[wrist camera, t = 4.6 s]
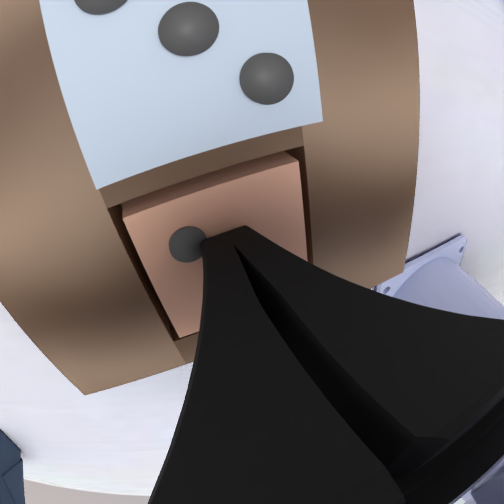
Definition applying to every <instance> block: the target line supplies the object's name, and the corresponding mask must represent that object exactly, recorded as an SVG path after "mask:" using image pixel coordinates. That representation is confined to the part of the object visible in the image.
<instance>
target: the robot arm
mask: <svg viewBox="0 0 504 504" xmlns="http://www.w3.org/2000/svg"><path fill="white" fill-rule="evenodd" d="M466 242H467V238H466V237H465V236H464V235H460V236H458V237H456V238H455V239H453V240H451V241H449V242H447V243H445V244H443V245H441V246H439V247H438V248H436V249H434V250H432V251H430V252H428V253H426V254H424V255H422V256H420V257H418V258H416V259H414V260H412V261H410V262H408V263H406V264H405V266H404V271H403V273H401V274H399V275H397V276H395V277H393V278H391V279H389V280H387V281H385V282H383V283H381V284H379V285H377V290H376V291H373V290H371V289H368V288H365V287H363V286H360V285H358V284H355V283H352V282H350V281H347V280H345V279H343V278H340V277H338V276H336V275H334V274H331V273H329V272H327V271H325V270H323V269H321V268H319V267H317V266H315V265H313V264H311V263H309V262H307V261H306V260H304V259H302V258H300V257H298V256H297V255H295V254H293V253H291V252H289V251H288V250H286V249H284V248H282V247H281V246H279V245H277V244H276V243H274V242H273V241H271V240H269V239H268V238H266V237H264V236H263V235H261V234H260V233H258V232H257V231H255V230H253V229H252V228H250V227H248V226H246V225H244V226H241V227H238V228H235V229H232V230H230V231H227V232H224V233H221V234H218V235H215V236H212V237H210V238H207V239H205V240H202V242H201V243H200V245H199V246H200V249H201V252H202V259H203V299H202V309H201V319H200V328H199V335H198V341H197V347H196V352H195V358H194V363H193V367H192V371H191V376H190V380H189V384H188V389H187V392H186V396H185V400H184V404H183V407H182V410H181V413H180V416H179V420H178V423H177V426H176V429H175V432H174V435H173V439H172V442H171V445H170V448H169V451H168V453H167V456H166V459H165V461H164V464H163V466H162V469H161V471H160V474H159V476H158V479H157V481H156V484H155V486H154V489H153V491H152V494H151V496H150V499H149V502H148V504H453V503H454V502H456V501H457V500H458V499H460V498H461V497H462V498H463V500H465V501H466V502H465V503H464V504H504V306H503V305H502V304H501V303H500V302H499V301H497V300H496V299H495V298H494V297H493V296H492V295H491V294H490V293H489V292H488V291H487V290H486V289H485V288H483V287H482V286H481V285H480V284H479V283H478V282H477V281H476V280H475V279H473V278H472V277H471V276H470V275H469V274H468V273H467V272H466V271H464V270H463V269H462V268H461V267H460V263H461V260H462V256H463V253H464V249H465V246H466Z"/></svg>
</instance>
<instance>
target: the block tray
mask: <svg viewBox="0 0 504 504" xmlns="http://www.w3.org/2000/svg"><path fill="white" fill-rule="evenodd" d="M307 2H308V8H309V14H310V20H311V26H312V33H313V40H314V47H315V55H316V62H317V70H318V79H319V88H320V97H321V107H322V117H323V121H322V122H317V123H313V124H308V125H303V126H299V127H295V128H290V129H286V130H282V131H278V132H274V133H270V134H266V135H262V136H258V137H254V138H250V139H246V140H243V141H239V142H236V143H232V144H228V145H225V146H221V147H218V148H215V149H211V150H208V151H205V152H201V153H198V154H195V155H192V156H189V157H186V158H182V159H179V160H176V161H173V162H170V163H167V164H164V165H161V166H159V167H156V168H153V169H150V170H147V171H144V172H142V173H139V174H136V175H133V176H131V177H128V178H125V179H123V180H120V181H117V182H115V183H112V184H110V185H107V186H105V187H102V188H100V189H97V190H96V187H95V185H94V182H93V180H92V177H91V175H90V172H89V170H88V167H87V164H86V162H85V159H84V157H83V154H82V151H81V148H80V146H79V143H78V140H77V137H76V134H75V132H74V129H73V126H72V123H71V120H70V117H69V114H68V111H67V108H66V104H65V101H64V98H63V95H62V91H61V88H60V85H59V81H58V78H57V74H56V71H55V67H54V63H53V60H52V56H51V52H50V48H49V44H48V40H47V35H46V31H45V26H44V22H43V17H42V12H41V7H40V2H39V0H0V302H1V303H2V304H3V306H4V307H5V308H6V310H7V311H8V312H9V314H10V315H11V316H12V317H13V319H14V320H15V321H16V322H17V324H18V325H19V326H20V327H21V328H22V330H23V331H24V332H25V333H26V334H27V336H28V337H29V338H30V339H31V340H32V341H33V343H34V344H35V345H36V346H37V347H38V348H39V349H40V350H41V352H42V353H43V354H44V355H45V356H46V357H47V358H48V359H49V360H50V361H51V362H52V363H53V364H54V365H55V367H56V368H57V369H58V370H59V371H60V372H61V373H62V374H63V375H64V376H65V377H66V378H67V379H68V380H69V381H70V382H71V383H72V384H73V385H74V386H76V387H77V388H78V389H79V390H80V391H81V392H82V393H83V394H84V395H88V394H91V393H95V392H99V391H102V390H106V389H109V388H113V387H116V386H119V385H123V384H126V383H129V382H133V381H136V380H139V379H142V378H146V377H149V376H152V375H155V374H158V373H161V372H164V371H167V370H170V369H173V368H176V367H179V366H182V365H185V364H188V363H191V362H194V358H195V352H196V347H197V341H198V335H199V331H198V332H195V333H192V334H190V335H187V336H184V337H181V338H180V337H179V335H178V334H177V332H176V330H175V328H174V326H173V324H172V322H171V320H170V318H169V316H168V315H167V313H166V311H165V309H164V307H163V305H162V303H161V301H160V299H159V297H158V295H157V293H156V291H155V289H154V287H153V285H152V282H151V280H150V278H149V276H148V274H147V272H146V270H145V268H144V266H143V263H142V261H141V259H140V257H139V255H138V253H137V250H136V248H135V246H134V244H133V241H132V239H131V237H130V235H129V232H128V230H127V228H126V225H125V223H124V221H123V202H125V201H128V200H131V199H133V198H136V197H139V196H142V195H144V194H147V193H150V192H153V191H155V190H158V189H161V188H164V187H167V186H170V185H173V184H176V183H179V182H181V181H184V180H187V179H190V178H194V177H197V176H200V175H203V174H206V173H209V172H212V171H215V170H219V169H222V168H225V167H228V166H232V165H235V164H238V163H242V162H245V161H249V160H252V159H256V158H259V157H263V156H266V155H270V154H274V153H277V152H281V151H285V152H286V153H288V154H289V155H291V156H292V157H293V158H295V159H296V160H298V161H299V170H300V179H301V189H302V200H303V210H304V222H305V234H306V246H307V260H308V262H309V263H311V264H313V265H315V266H317V267H319V268H321V269H323V270H325V271H327V272H329V273H331V274H334V275H336V276H338V277H340V278H343V279H345V280H347V281H350V282H352V283H355V284H358V285H360V286H363V287H365V288H368V289H370V288H372V287H375V286H377V285H379V284H381V283H383V282H385V281H387V280H389V279H391V278H393V277H395V276H397V275H399V274H401V273H403V271H404V266H405V260H406V254H407V248H408V242H409V235H410V229H411V221H412V213H413V205H414V196H415V186H416V175H417V162H418V146H419V117H420V84H419V57H418V42H417V29H416V19H415V10H414V2H413V0H307Z"/></svg>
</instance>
